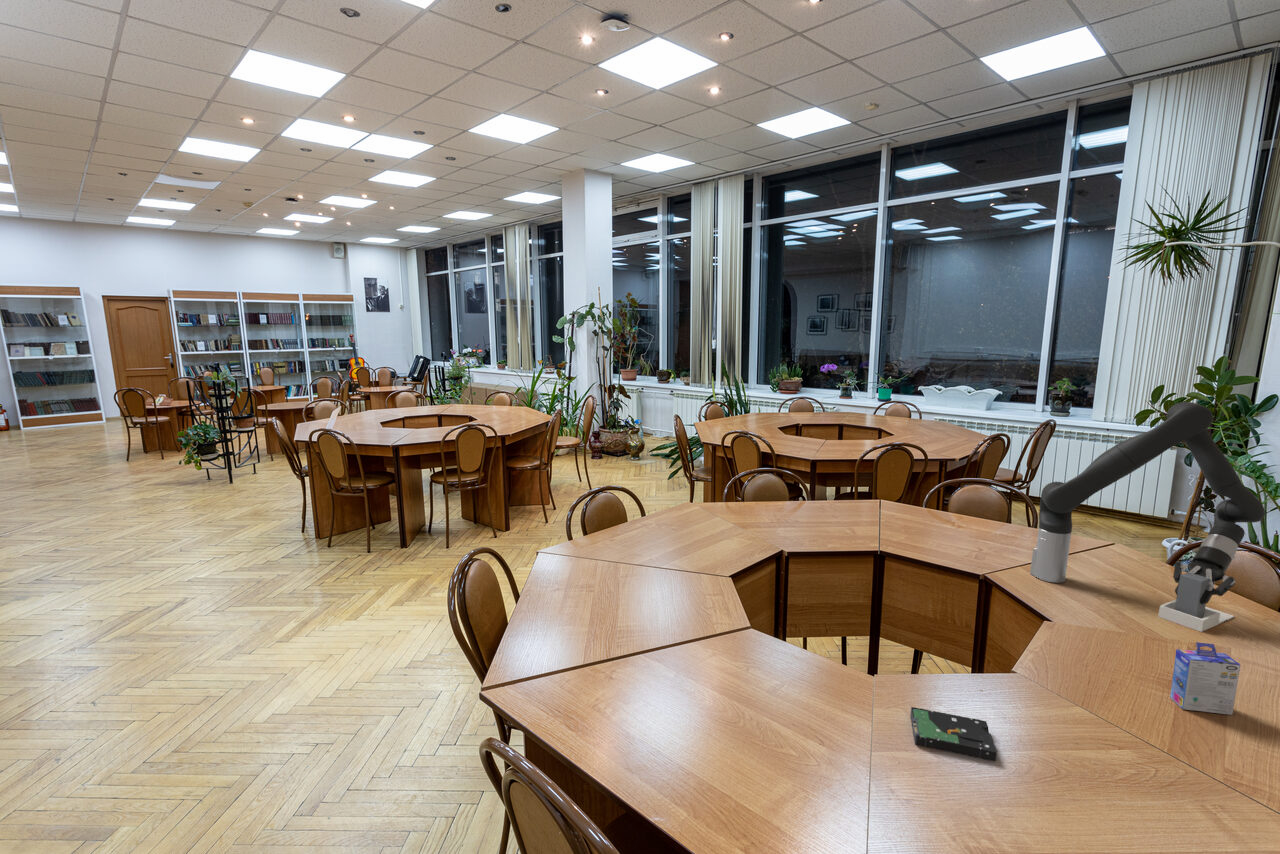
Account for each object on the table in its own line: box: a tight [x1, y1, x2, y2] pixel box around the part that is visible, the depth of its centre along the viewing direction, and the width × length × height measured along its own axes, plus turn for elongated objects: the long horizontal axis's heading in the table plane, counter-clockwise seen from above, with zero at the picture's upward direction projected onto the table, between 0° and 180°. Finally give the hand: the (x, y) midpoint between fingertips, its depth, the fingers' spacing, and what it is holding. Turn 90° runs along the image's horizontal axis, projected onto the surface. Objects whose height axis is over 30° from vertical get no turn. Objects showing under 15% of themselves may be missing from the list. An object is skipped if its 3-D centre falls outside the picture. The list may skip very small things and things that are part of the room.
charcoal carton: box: [1175, 571, 1210, 618], centre depth 178 cm, size 5×5×12 cm
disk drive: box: [910, 706, 998, 762], centre depth 126 cm, size 10×3×15 cm
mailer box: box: [1157, 599, 1235, 633], centre depth 181 cm, size 10×20×4 cm, turn 117°
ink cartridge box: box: [1169, 641, 1242, 716], centre depth 137 cm, size 10×6×14 cm, turn 78°
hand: (1189, 598), depth 177 cm, fingers closed on charcoal carton, 4 cm apart
